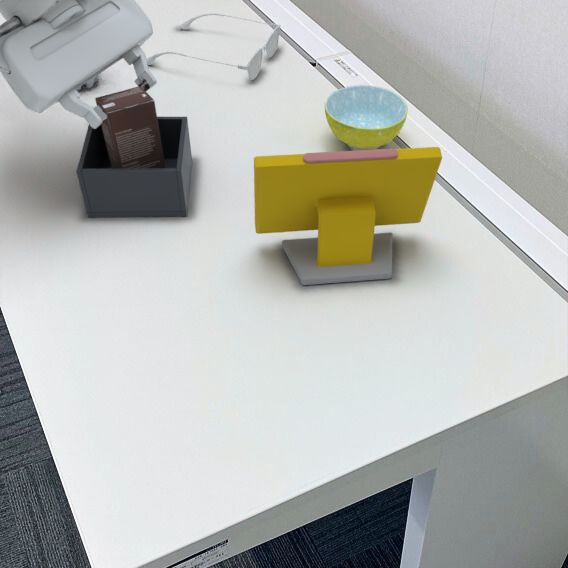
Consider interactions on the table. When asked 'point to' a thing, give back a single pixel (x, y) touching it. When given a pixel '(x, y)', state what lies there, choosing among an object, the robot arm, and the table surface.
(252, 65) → the eyeglasses
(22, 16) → the robot arm
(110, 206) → the bin
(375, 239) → the toy computer monitor
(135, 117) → the box
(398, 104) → the bowl
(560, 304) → the table surface
